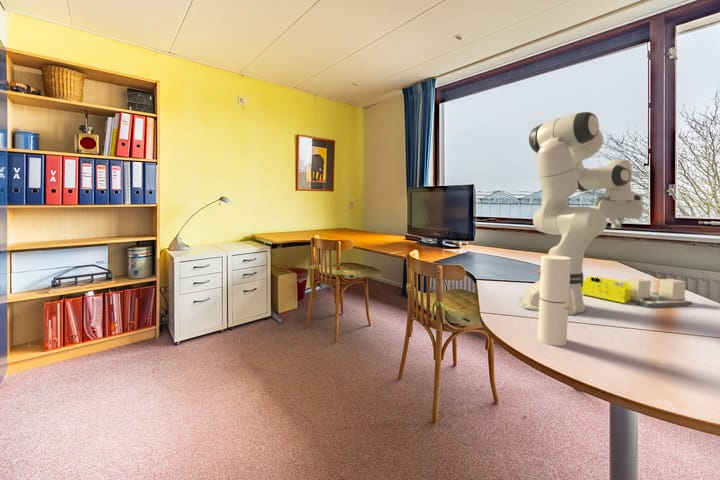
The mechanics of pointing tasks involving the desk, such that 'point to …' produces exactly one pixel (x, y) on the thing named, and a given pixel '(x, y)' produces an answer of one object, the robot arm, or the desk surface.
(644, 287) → the button
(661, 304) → the button board
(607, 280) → the yellow toy chassis
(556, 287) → the cylindrical container
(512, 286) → the desk surface
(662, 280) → the button
